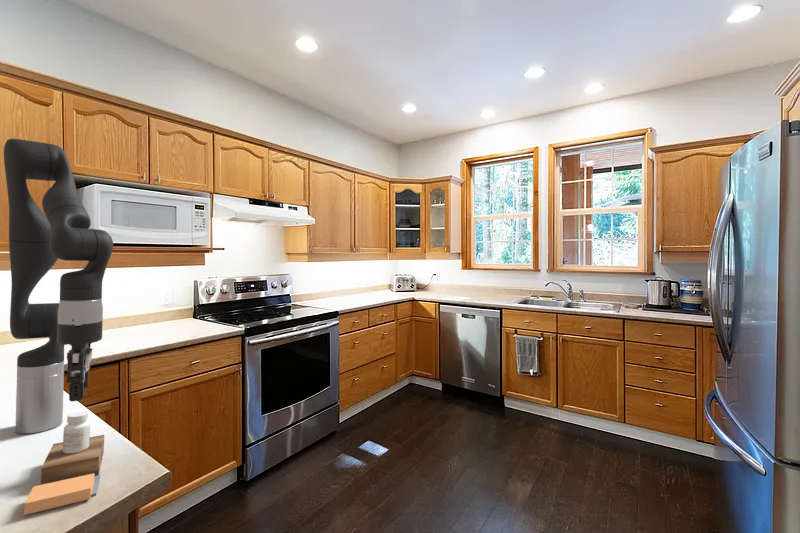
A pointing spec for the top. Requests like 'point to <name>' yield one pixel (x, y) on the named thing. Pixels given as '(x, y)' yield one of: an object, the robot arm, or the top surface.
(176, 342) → the top surface
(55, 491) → the thin peach tile
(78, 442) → the pill bottle
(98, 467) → the block
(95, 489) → the mat
